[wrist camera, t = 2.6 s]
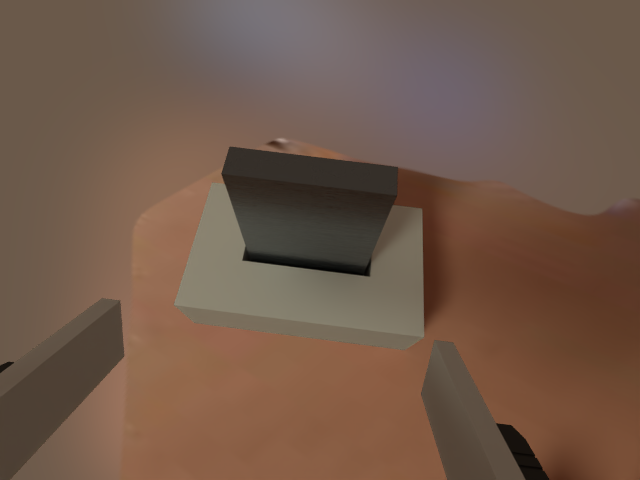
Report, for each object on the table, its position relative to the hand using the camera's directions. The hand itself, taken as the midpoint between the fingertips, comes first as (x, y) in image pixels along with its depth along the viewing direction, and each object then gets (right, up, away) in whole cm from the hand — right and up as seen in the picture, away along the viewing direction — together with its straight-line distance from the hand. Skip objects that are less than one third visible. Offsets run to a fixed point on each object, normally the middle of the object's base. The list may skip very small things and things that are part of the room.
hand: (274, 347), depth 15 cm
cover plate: (+1, +1, +20) cm, 20 cm away
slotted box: (+1, +1, +21) cm, 21 cm away
